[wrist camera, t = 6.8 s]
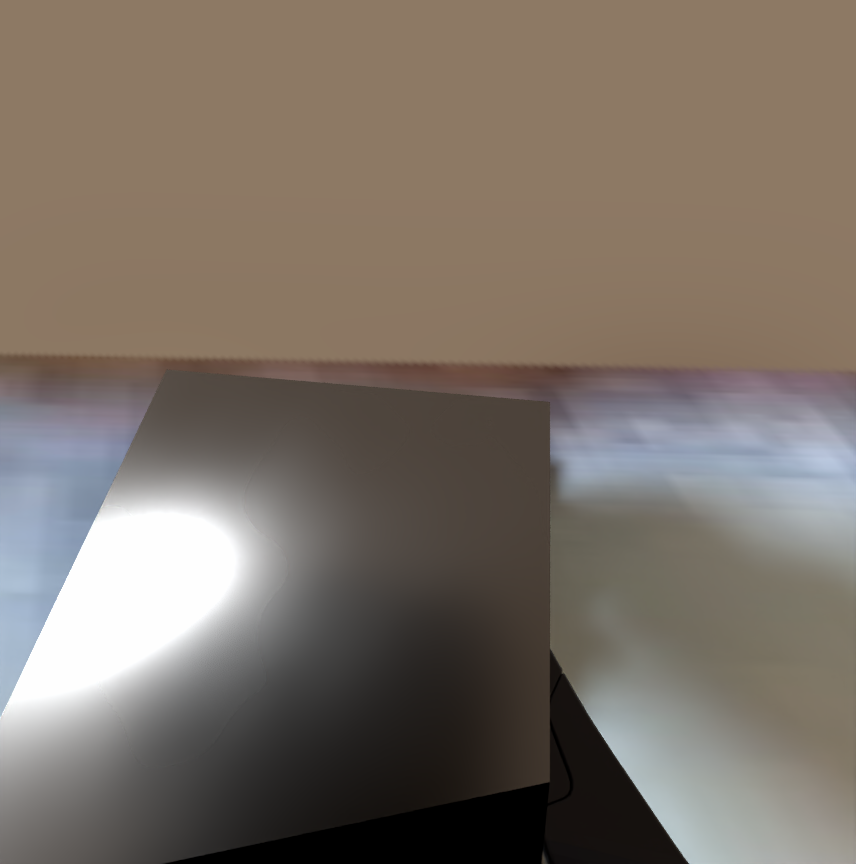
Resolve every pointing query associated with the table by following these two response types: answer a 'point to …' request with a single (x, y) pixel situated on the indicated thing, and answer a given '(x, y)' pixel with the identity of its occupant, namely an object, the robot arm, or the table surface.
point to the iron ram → (297, 638)
